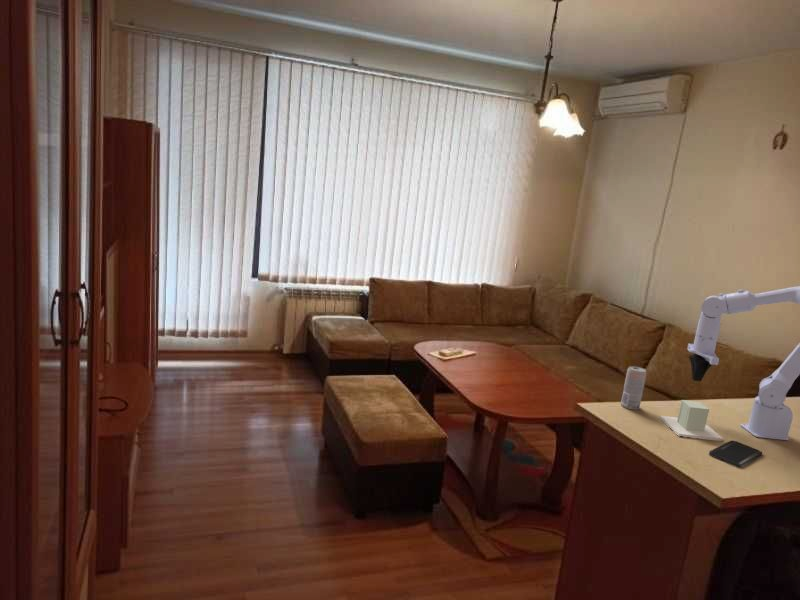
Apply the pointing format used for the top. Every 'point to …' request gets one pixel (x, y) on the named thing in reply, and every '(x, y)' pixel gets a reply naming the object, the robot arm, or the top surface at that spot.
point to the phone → (735, 453)
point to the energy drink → (633, 387)
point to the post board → (680, 431)
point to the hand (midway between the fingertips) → (696, 380)
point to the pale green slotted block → (692, 415)
